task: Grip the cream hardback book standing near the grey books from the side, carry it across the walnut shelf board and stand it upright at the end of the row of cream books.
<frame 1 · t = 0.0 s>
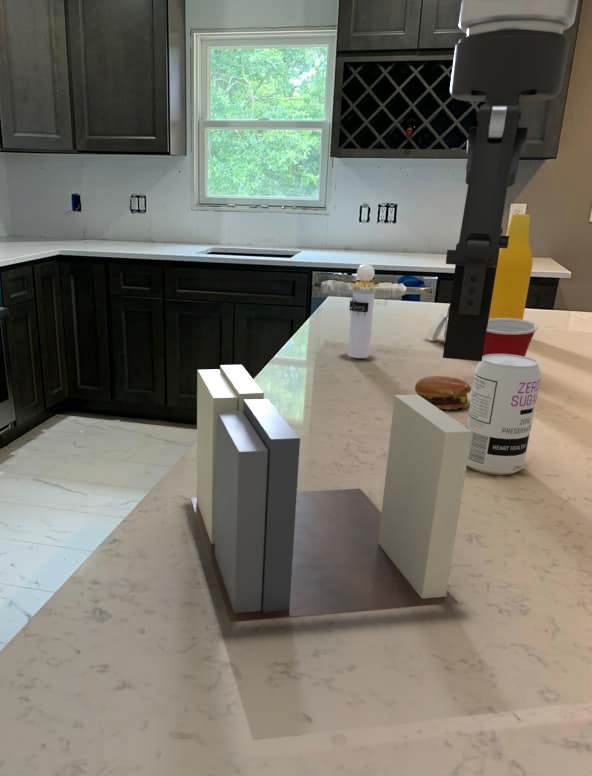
hand: (467, 341, 59), 25 cm above the countertop, tool pointing down, fingers open, 13 cm apart
beer bottle: (500, 335, 187), on the countertop
burger: (441, 405, 128), on the countertop
cream book: (409, 568, 71), point 1 cm above the countertop, touching shelf board
cream books: (225, 532, 81), resting on shelf board
supplement can: (491, 467, 101), on the countertop
plastic cup: (497, 386, 141), on the countertop
shelf board: (305, 555, 76), on the countertop
perfume bottle: (357, 359, 159), on the countertop
spread jar: (451, 345, 174), on the countertop
grey books: (248, 594, 69), resting on shelf board
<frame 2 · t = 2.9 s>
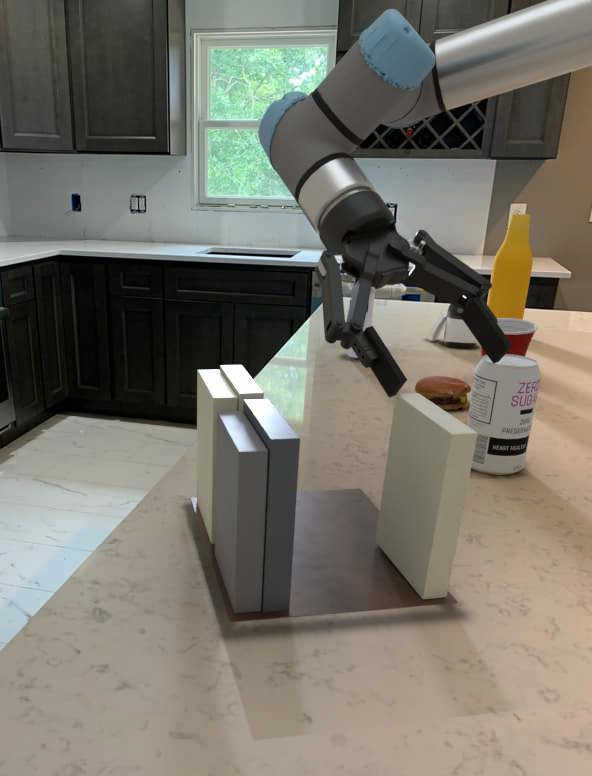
hand: (452, 371, 72), 19 cm above the countertop, tool tilted 50°, fingers open, 13 cm apart
cream book: (408, 567, 71), point 2 cm above the countertop, touching gripper, shelf board
everything else where it was.
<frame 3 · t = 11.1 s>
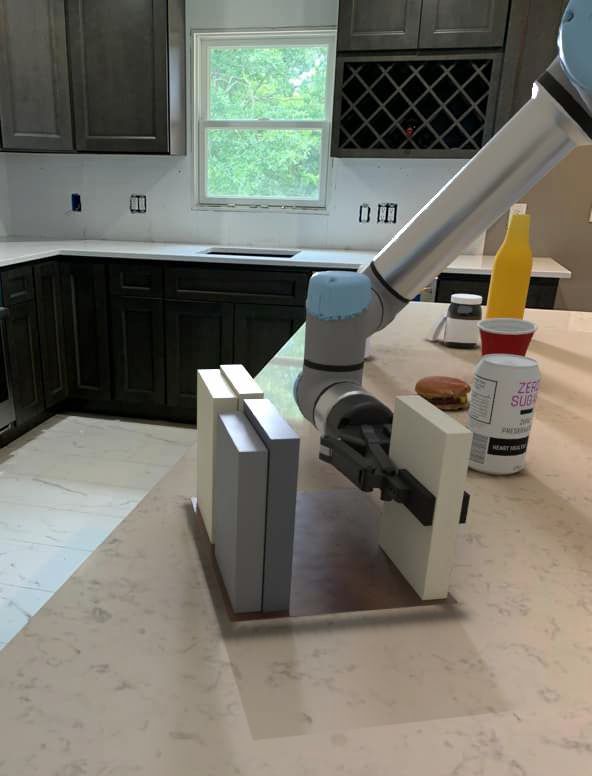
hand: (446, 510, 63), 10 cm above the countertop, tool horizontal, fingers closed on cream book, 2 cm apart
cream book: (410, 569, 71), point 2 cm above the countertop, touching gripper, shelf board
everything else where it was.
when the fingers open (10 cm above the countertop, at t = 17.9 s): cream book stays where it is, resting on shelf board.
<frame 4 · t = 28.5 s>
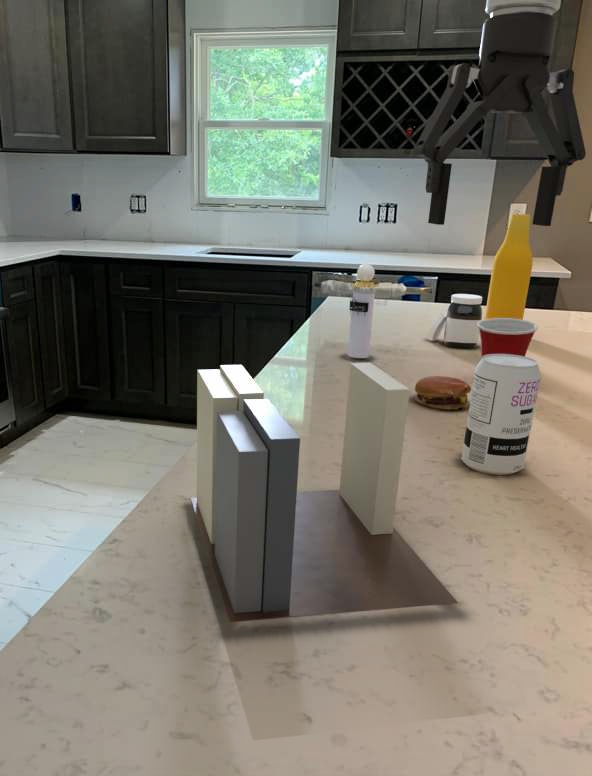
hand: (489, 225, 87), 32 cm above the countertop, tool pointing down, fingers open, 13 cm apart
cream book: (364, 512, 83), point 1 cm above the countertop, touching shelf board
everything else where it was.
at the end: cream book inside the target area (0.3 cm from its centre), point 1.5 cm above the countertop; cream book tilted 0°; cream book 16.0 cm from the cream books (horizontally) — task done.
